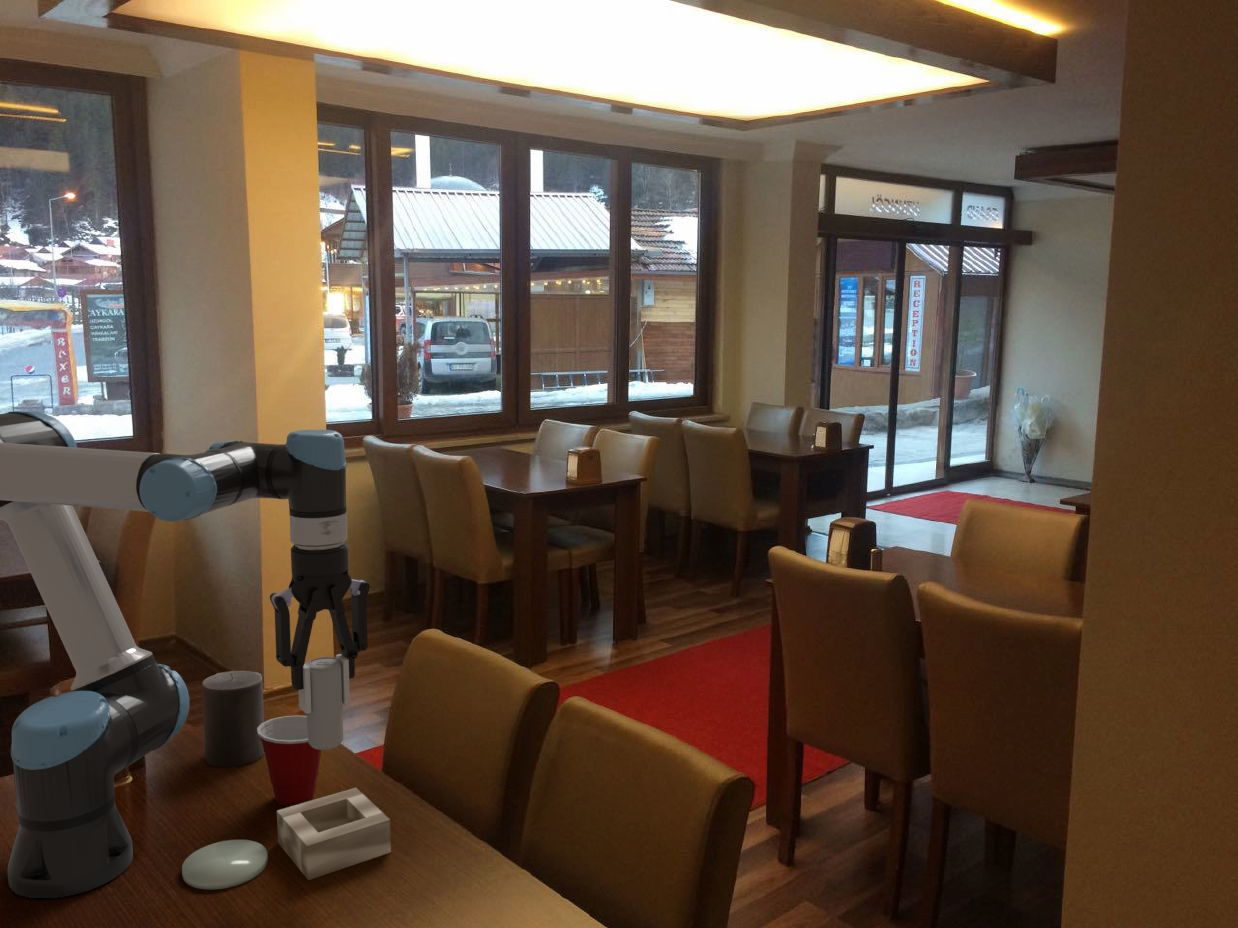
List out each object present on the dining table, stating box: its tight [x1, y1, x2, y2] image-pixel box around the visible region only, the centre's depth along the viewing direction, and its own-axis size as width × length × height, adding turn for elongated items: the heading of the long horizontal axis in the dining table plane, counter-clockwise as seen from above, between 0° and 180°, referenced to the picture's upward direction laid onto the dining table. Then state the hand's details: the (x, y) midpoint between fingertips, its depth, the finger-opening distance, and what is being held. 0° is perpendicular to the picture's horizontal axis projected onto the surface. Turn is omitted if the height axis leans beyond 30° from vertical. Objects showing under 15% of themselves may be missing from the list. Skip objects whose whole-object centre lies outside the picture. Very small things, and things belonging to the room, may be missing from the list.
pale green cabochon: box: [181, 839, 268, 890], centre depth 141 cm, size 11×11×1 cm
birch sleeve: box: [276, 787, 392, 881], centre depth 146 cm, size 12×12×5 cm
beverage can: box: [305, 656, 344, 751], centre depth 142 cm, size 5×5×12 cm
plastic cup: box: [257, 714, 322, 807], centre depth 160 cm, size 11×11×12 cm
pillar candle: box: [201, 670, 265, 768], centre depth 174 cm, size 10×10×15 cm
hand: (324, 705), depth 142 cm, fingers closed on beverage can, 5 cm apart
